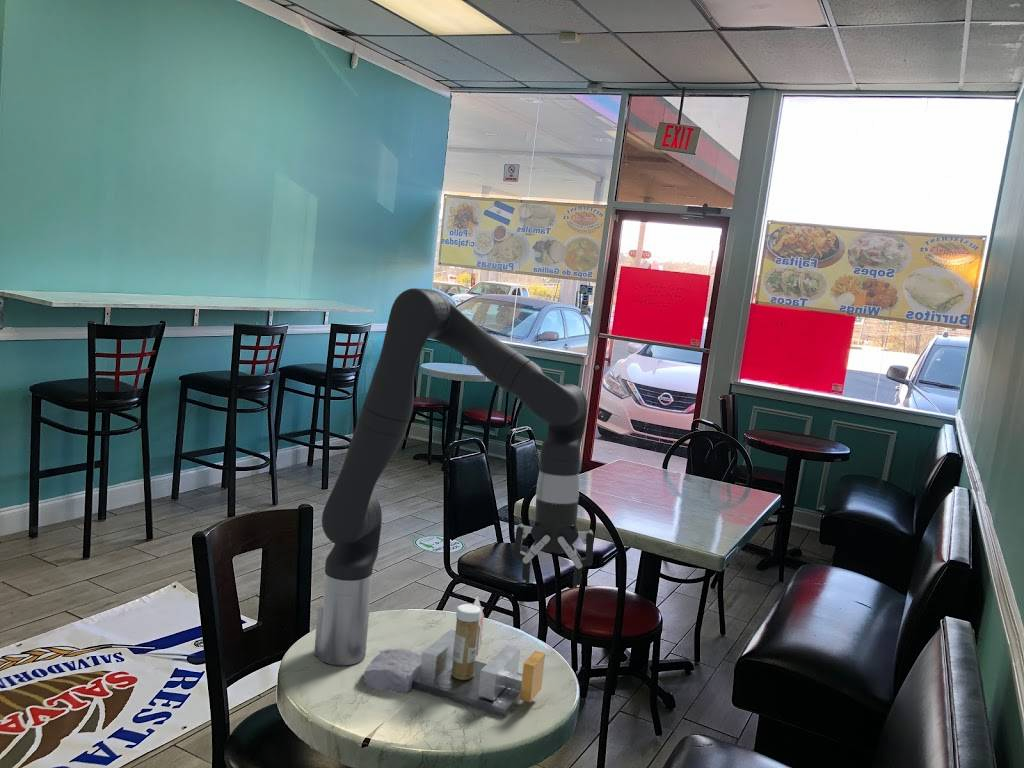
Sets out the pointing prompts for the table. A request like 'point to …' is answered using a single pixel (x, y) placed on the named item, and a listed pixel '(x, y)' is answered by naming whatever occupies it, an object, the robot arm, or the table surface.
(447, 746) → the table surface
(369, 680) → the stone block
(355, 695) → the table surface
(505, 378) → the robot arm
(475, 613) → the sprinkles bottle
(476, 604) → the tea box
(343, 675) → the table surface
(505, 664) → the sliding jaw
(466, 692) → the vise
